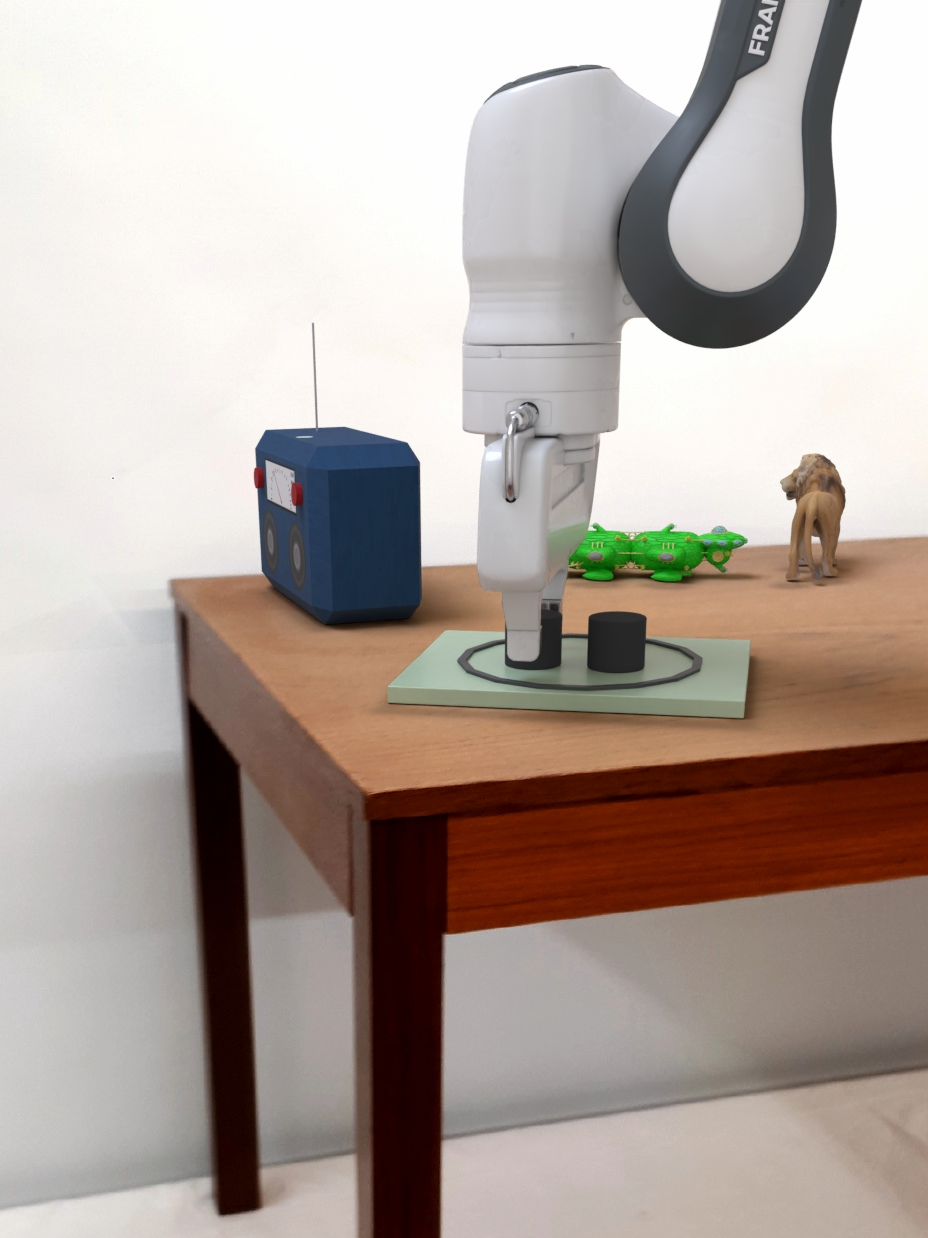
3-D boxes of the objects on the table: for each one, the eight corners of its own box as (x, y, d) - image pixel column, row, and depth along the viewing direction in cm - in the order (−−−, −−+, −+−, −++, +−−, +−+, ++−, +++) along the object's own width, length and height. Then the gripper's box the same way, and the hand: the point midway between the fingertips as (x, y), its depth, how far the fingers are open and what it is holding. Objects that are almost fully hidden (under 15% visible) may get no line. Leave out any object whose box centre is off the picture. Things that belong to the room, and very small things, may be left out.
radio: (250, 584, 121) (235, 323, 114) (352, 576, 124) (344, 321, 116) (314, 632, 103) (301, 325, 95) (432, 622, 106) (429, 323, 98)
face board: (750, 655, 94) (751, 636, 94) (743, 718, 80) (745, 697, 79) (445, 644, 99) (445, 627, 98) (387, 703, 84) (386, 682, 84)
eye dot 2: (646, 661, 89) (649, 611, 87) (641, 674, 86) (644, 623, 84) (590, 659, 89) (592, 610, 88) (583, 672, 86) (585, 621, 85)
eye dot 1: (564, 658, 90) (566, 609, 89) (557, 671, 87) (558, 620, 85) (509, 656, 90) (510, 608, 89) (500, 669, 87) (500, 618, 86)
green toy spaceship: (746, 584, 118) (750, 529, 116) (523, 580, 121) (523, 527, 119) (743, 570, 124) (747, 518, 122) (531, 567, 127) (532, 516, 125)
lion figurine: (773, 557, 131) (781, 451, 127) (834, 557, 130) (844, 451, 126) (786, 585, 117) (795, 468, 114) (855, 586, 116) (866, 468, 113)
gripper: (572, 411, 73) (565, 686, 78) (615, 389, 91) (607, 612, 96) (447, 411, 74) (448, 681, 79) (514, 389, 92) (512, 609, 98)
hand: (536, 643), depth 88 cm, fingers open, 7 cm apart
